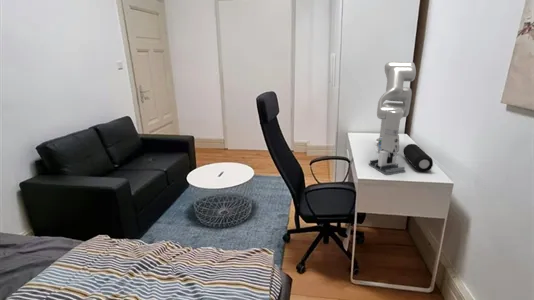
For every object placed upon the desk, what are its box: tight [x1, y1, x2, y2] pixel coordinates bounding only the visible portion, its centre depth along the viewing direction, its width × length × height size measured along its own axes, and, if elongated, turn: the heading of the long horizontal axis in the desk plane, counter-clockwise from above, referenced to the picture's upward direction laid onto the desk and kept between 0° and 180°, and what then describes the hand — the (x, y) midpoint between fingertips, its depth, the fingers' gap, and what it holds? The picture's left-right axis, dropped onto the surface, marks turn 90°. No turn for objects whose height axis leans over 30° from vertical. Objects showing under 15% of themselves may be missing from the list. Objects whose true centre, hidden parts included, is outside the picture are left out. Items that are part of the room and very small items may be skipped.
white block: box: [377, 150, 398, 166], centre depth 170 cm, size 10×3×9 cm, turn 107°
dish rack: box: [368, 158, 406, 176], centre depth 171 cm, size 16×13×3 cm
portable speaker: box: [402, 143, 434, 173], centre depth 176 cm, size 26×10×10 cm, turn 172°
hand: (387, 161), depth 171 cm, fingers closed on white block, 3 cm apart
